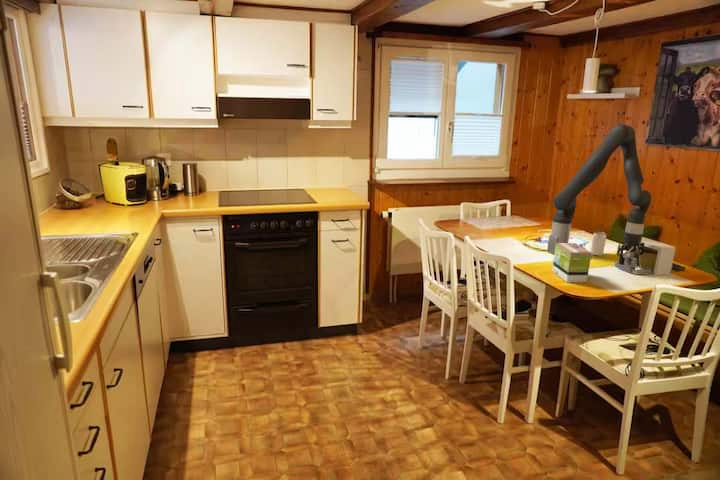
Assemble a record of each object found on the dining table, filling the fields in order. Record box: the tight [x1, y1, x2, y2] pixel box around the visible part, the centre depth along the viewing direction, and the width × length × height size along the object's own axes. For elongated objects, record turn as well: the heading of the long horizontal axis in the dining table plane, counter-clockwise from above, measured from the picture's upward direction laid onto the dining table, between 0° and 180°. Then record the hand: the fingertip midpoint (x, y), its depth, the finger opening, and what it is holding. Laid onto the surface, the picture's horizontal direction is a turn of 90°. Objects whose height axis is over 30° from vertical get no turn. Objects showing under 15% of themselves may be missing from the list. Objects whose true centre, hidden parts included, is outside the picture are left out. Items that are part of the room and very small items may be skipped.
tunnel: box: [627, 236, 676, 276], centre depth 242 cm, size 9×18×14 cm, turn 19°
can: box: [589, 231, 607, 257], centre depth 264 cm, size 6×6×12 cm
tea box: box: [551, 242, 592, 284], centre depth 226 cm, size 15×10×15 cm, turn 5°
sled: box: [614, 253, 673, 275], centre depth 242 cm, size 23×14×7 cm, turn 109°
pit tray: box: [672, 262, 686, 272], centre depth 248 cm, size 5×14×2 cm, turn 19°
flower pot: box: [638, 248, 658, 269], centre depth 243 cm, size 9×9×9 cm
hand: (628, 263), depth 239 cm, fingers open, 8 cm apart
